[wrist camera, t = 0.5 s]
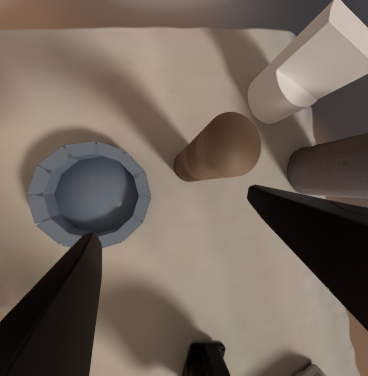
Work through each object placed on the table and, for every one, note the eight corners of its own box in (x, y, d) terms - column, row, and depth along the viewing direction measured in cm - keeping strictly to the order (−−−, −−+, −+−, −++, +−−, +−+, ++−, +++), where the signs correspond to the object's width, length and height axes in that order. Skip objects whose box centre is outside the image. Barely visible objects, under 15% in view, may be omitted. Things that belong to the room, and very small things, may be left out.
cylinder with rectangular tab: (291, 91, 28) (392, 24, 17) (278, 132, 28) (373, 92, 16) (256, 66, 26) (342, -30, 15) (240, 110, 26) (318, 46, 14)
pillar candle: (300, 138, 29) (453, 91, 14) (329, 165, 31) (488, 148, 16) (278, 178, 28) (420, 171, 13) (310, 203, 30) (462, 221, 15)
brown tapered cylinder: (198, 185, 24) (252, 184, 12) (170, 176, 22) (196, 164, 10) (206, 157, 24) (267, 127, 12) (179, 146, 23) (214, 101, 11)
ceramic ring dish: (134, 248, 21) (132, 257, 19) (31, 229, 18) (10, 236, 15) (159, 165, 22) (161, 163, 19) (65, 134, 19) (51, 125, 16)
